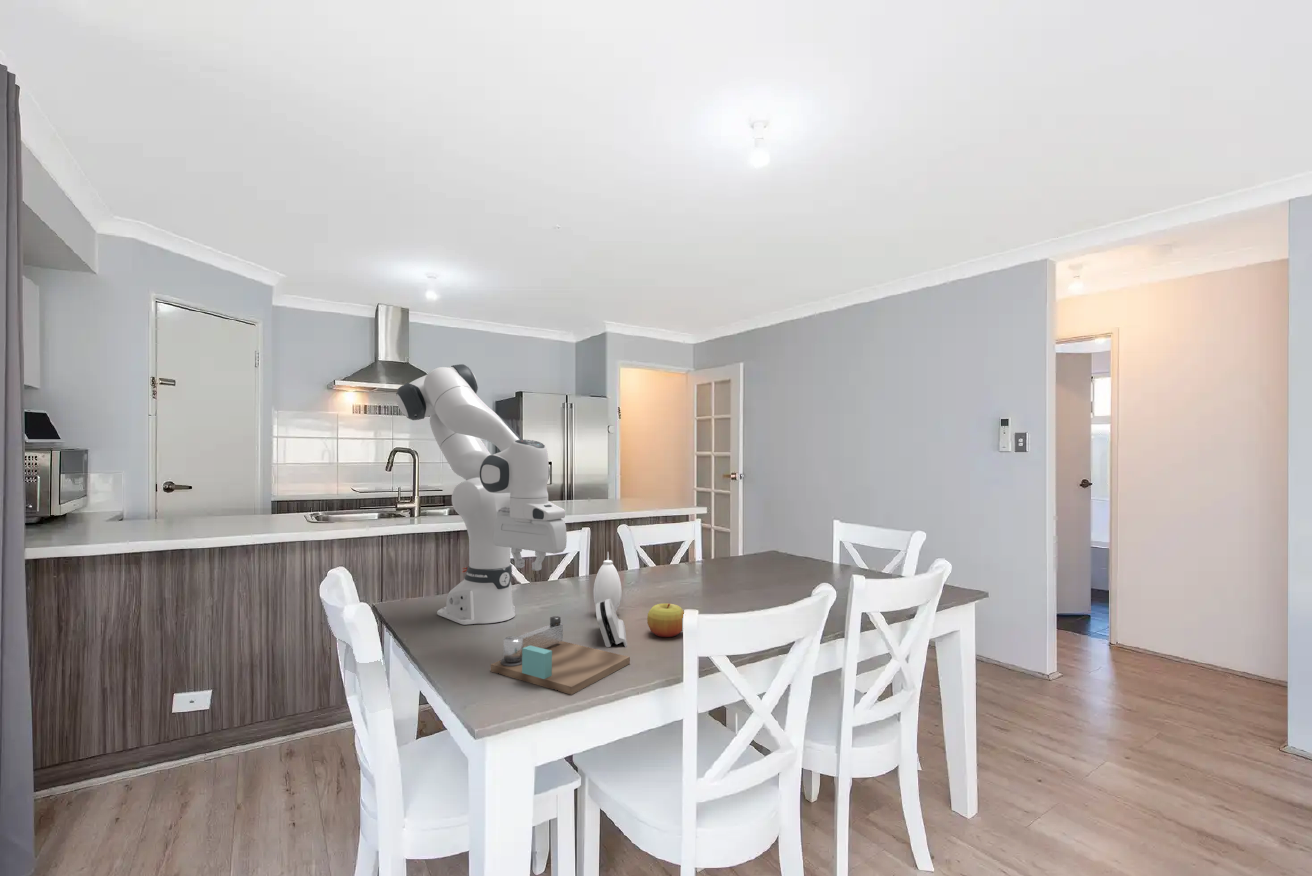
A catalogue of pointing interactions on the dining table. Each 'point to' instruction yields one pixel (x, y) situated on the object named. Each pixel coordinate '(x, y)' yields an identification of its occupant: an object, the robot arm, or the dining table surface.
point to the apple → (665, 619)
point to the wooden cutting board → (568, 667)
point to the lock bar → (533, 640)
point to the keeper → (537, 662)
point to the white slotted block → (610, 624)
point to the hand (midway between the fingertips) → (528, 568)
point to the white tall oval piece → (607, 584)
